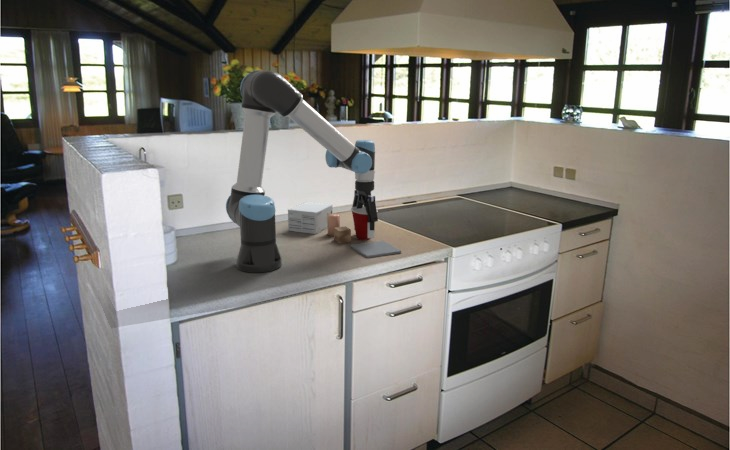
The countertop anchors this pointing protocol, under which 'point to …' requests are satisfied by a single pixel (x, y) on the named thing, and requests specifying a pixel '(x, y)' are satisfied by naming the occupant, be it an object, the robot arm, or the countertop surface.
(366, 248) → the mat
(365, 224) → the plastic cup
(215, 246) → the countertop surface
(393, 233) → the countertop surface
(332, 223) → the pink cylinder
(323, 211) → the supplement box
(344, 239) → the walnut block
